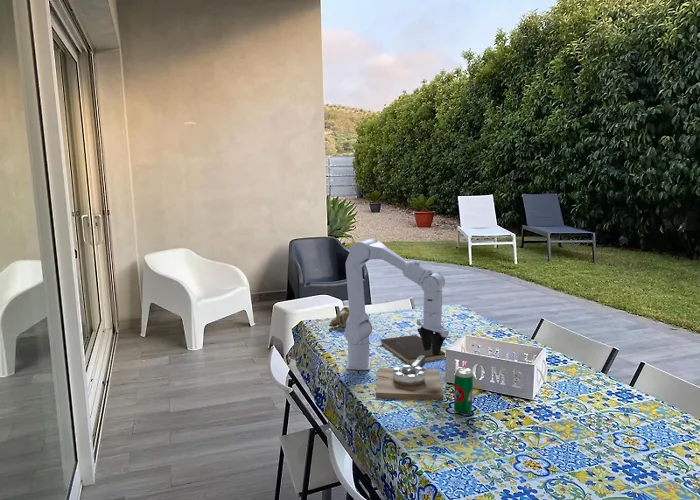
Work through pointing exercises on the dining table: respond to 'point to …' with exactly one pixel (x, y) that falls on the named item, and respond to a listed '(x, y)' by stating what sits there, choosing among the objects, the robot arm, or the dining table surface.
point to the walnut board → (423, 391)
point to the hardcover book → (410, 348)
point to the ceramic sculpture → (340, 318)
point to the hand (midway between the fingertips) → (431, 352)
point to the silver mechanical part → (410, 373)
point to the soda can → (463, 391)
